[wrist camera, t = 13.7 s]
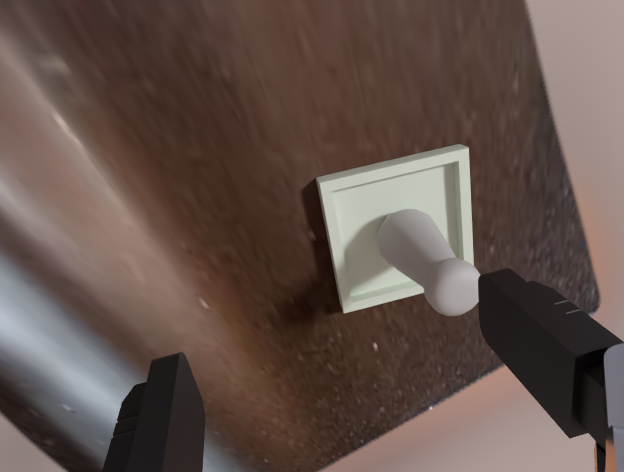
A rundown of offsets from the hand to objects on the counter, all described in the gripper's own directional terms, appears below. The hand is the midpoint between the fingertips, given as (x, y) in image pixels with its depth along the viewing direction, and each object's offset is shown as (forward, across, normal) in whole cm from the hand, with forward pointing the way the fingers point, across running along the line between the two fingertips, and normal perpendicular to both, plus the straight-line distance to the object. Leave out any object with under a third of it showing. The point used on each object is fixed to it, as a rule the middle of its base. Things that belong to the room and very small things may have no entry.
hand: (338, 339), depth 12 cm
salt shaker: (+30, -11, +12) cm, 34 cm away
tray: (+30, -11, +12) cm, 34 cm away
